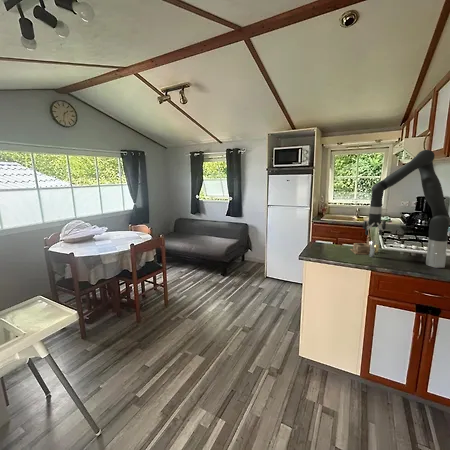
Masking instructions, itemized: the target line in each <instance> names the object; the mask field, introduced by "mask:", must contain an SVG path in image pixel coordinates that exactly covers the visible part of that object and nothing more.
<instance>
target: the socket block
mask: <svg viewBox="0 0 450 450" xmlns="http://www.w3.org/2000/svg"><path fill="white" fill-rule="evenodd" d="M352 246H353V248H350V251H351V252H352V253H353V254H355V255H366V256H367V255H368V256H369V253H370V244H368V243H366V242H365V243H362V242H360V243H359V242H358V243H357V242H355V243H353V245H352Z"/></svg>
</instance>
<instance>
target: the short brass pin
mask: <svg viewBox="0 0 450 450" xmlns="http://www.w3.org/2000/svg"><path fill="white" fill-rule="evenodd" d="M379 247H380V246H379V244H377V243H375V251H374V254H379Z"/></svg>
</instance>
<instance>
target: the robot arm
mask: <svg viewBox="0 0 450 450" xmlns="http://www.w3.org/2000/svg"><path fill="white" fill-rule="evenodd" d="M434 160H435V152H434V151H432V150H431V149H423V150H420V151H419V152H418V153H417V154H416V155H415V156H414V157H413V158H412V159H411V160H410V161H409V162H407V163H406V164H405V165H403V166H401V167H400V168H398V169H397V170H395V171H393V172H392V173H391V174H389V175H387V176H386V177H385V178H383V179H381V180H380V181H379V182H377V183H376V184H374V185H372V187H371V200H370V203H369V204H370V205H369V210H368V211H369V212H368V220H363V225H362V229H364V230H365V233H364V234H365V235H366V236H369V231H370V229H371V228H378V236H382V234H383V230H386V229H387V228H386V226H387V225H386V223H387V222H386V221H385V220H382V213H383V198H384V192H385V190H388V188H391V187H393V186H394V185H396V184H398V183H399V182H400V181H402V180H403V179H405V178H406V177H407V176H409V175H410V174H411V173H413V172H414V171H416V170H418V171H419V174H420V180H421V187H422V191H423V196H424V198H425V201H426V202H427V204H428V205H429V207H430V210H431V215H432V217H431V218H430V221H429V226H428V227H429V228H428V240H427V241H428V242H427V249H426V258H425V265H426V266H429V267H432V268H437V269H438V268H442V269H444V268H446V267H445V266H446V260H447V247H448V238H449V236H448V235H449V234H448V233H449V226H450V214H449V212H448V209H447V207H446V202H445V201H446V200H445V197H444V192H443V191H444V190H443V187H442V183H441V180H440V179H439V177H438V175H437V173H436V172H435V168H434Z"/></svg>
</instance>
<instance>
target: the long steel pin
mask: <svg viewBox="0 0 450 450" xmlns="http://www.w3.org/2000/svg"><path fill="white" fill-rule="evenodd" d="M369 242H370V244H369V246H370V253H369V255H368V257H370V258H374V257H375V253H374V251H375V244H376V240H373V239H371V240H370V241H369Z"/></svg>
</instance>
